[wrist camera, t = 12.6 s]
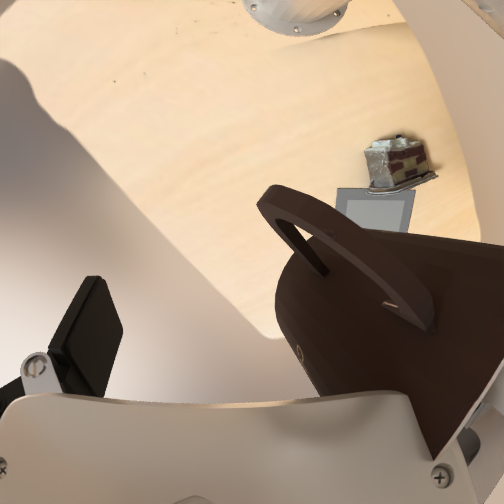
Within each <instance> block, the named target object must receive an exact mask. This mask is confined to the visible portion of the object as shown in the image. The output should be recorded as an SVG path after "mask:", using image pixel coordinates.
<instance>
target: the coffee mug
mask: <svg viewBox="0 0 504 504" xmlns="http://www.w3.org/2000/svg"><path fill="white" fill-rule="evenodd" d="M256 205H257V207H258V209H259V211H260V212H261V214H262V216H263V217H264V218H265V219H266V221H267V222H268V223H269V225H270V226H271V227H272V228H273V229H274V231H275V232H276V233H277V234H278V235H279V236H280V237H281V238H282V239H283V240H284V241H285V242H286V243H287V245H288V246H289V247H290V248H291V249H292V250H293V251H294V254H293V255H292V256H291V258H290V259H289V261H288V262H287V264H286V265H285V267H284V269H283V271H282V274H281V276H280V278H279V281H278V285H277V289H276V294H275V312H276V318H277V322H278V324H279V326H280V329H281V331H282V333H283V334H284V336H285V338H286V339H287V341H288V343H289V344H290V346H291V348H292V349H293V351H294V353H295V355H296V356H297V358H298V360H299V361H300V363H301V365H302V366H303V368H304V370H305V372H306V373H307V375H308V377H309V378H310V380H311V382H312V384H313V385H314V387H315V388H316V390H317V392H318V394H319V395H320V397H324V396H333V395H340V394H348V393H356V392H365V391H377V390H393V391H399V392H401V393H404V394H405V395H407V396H408V397H409V400H410V403H411V405H412V408H413V411H414V413H415V416H416V419H417V422H418V425H419V428H420V430H421V432H422V435H423V437H424V439H425V442H426V444H427V447H428V449H429V451H430V454H431V456H432V459H433V461H435V460H436V459H438V458H439V457H440V456H442V455H443V454H444V453H445V452H446V450H447V449H448V448H449V446H450V445H451V443H452V442H453V441H454V439H455V438H456V437H457V435H458V434H459V433H460V431H461V430H462V428H463V427H464V426H465V424H466V423H467V421H468V420H469V418H470V417H471V415H472V414H473V412H474V411H475V409H476V408H477V406H478V405H479V403H480V402H483V403H484V404H486V402H488V403H489V404H490V405H492V406H493V407H494V408H495V409H496V410H498V411H499V412H500V413H501V414H502V415H504V246H500V245H493V244H487V243H480V242H473V241H466V240H458V239H451V238H443V237H436V236H428V235H420V234H411V233H403V232H394V231H386V230H377V229H367V228H362V227H360V226H359V225H357V224H356V223H355V222H353V221H352V220H350V219H349V218H348V217H346V216H345V215H343V214H342V213H341V212H339V211H337V210H336V209H334V208H333V207H331V206H330V205H328V204H326V203H324V202H322V201H320V200H318V199H316V198H314V197H312V196H310V195H308V194H305V193H302V192H299V191H296V190H294V189H291V188H288V187H285V186H282V185H272V186H270V187H269V188H268V189H267V191H266V192H265V193H264V194H263V196H262V197H261V198H260V200H259V201H258V202H257V204H256ZM294 225H296V226H298V227H299V228H301V229H303V230H305V231H306V232H308V233H310V234H311V235H313V236H312V237H311V238H309V239H308V240H307V241H306V240H305V239H304V238H303V236H302V235H301V234H300V232H299V231H298V230H297V229H296V227H295V226H294Z"/></svg>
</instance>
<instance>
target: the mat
mask: <svg viewBox="0 0 504 504" xmlns="http://www.w3.org/2000/svg"><path fill="white" fill-rule="evenodd" d="M367 191H368V189H358V188H337V198H336V208H335V209H336V210H337V211H339V212H341V213H342V214H343V215H345V216H346V217H348V218H349V219H350V220H352V221H353V222H355V223H356V224H357V225H359V226H360V227H362V228H367V229H377V230H386V231H394V232H403V233H407V230H408V226H409V221H410V216H411V212H412V206H413V201H414V196H415V190H405V191H403V192H400V193H398V194H397V195H393V196H391V197H387V196H385V195H380V196H374V195H369V194H366V192H367Z"/></svg>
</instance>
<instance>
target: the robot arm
mask: <svg viewBox="0 0 504 504" xmlns="http://www.w3.org/2000/svg"><path fill="white" fill-rule="evenodd" d="M350 1H352V0H242V2H243V4H244V6H245V8H246V10H247V11H248V13H249V14H250V15H251V16H252V18H254V19H255V20H256V21H257V22H258V23H259V24H261V25H262V26H264V27H266V28H267V29H269V30H271V31H274V32H276V33H279V34H283V35H287V36H294V37H305V36H312V35H317V34H320V33H322V32H325V31H327V30H328V29H330V28H332V27H333V26H334V25H336V24H337V23H338V22H339V21H340V20H341V18H342V17H343V16H344V14H345V11H346V9H347V5H348V2H350ZM462 1H463V2H464V3H465V4H466V5H467V6H469V7H470V8H471V9H472V10H473V11H474V12H475V13H476V14H477V15H479V16H480V17H481V18H482V19H483V20H484V21H485V22H486V23H487V24H488V25H489V26H490V27H491V28H492V29H493V30H494V31H495V32H497V34H498V35H500V36H501V37H502V38H503V39H504V0H462ZM253 7H255V8H256V10H252V8H253ZM334 13H336V14H337V16H335V15H334ZM294 29H297V30H298V32H295V31H294ZM122 335H123V327H122V324H121V322H120V319H119V317H118V314H117V311H116V309H115V306H114V303H113V301H112V298H111V295H110V292H109V289H108V286H107V283H106V281H105V280H104V279H102V278H101V276H87V277H86V278H85V279H84V281H83V283H82V284H81V286H80V288H79V290H78V291H77V293H76V295H75V297H74V298H73V301H72V302H71V304H70V306H69V308H68V309H67V311H66V313H65V315H64V317H63V319H62V321H61V322H60V325H59V326H58V328H57V330H56V333H55V334H54V336H53V338H52V340H51V342H50V344H49V346H48V349H49V350H48V352H47V354H46V353H43V352H36V353H33V354H31V355H29V356H28V357H27V358H26V359H25V360H24V361H23V363H22V365H21V369H20V373H21V376H20V377H18V378H17V379H15V380H13V381H12V382H10V383H8V384H7V385H5V386H3V387H2V388H0V504H484V502H485V501H486V499H487V498H488V497H489V495H490V494H491V492H492V491H493V489H494V488H495V486H496V485H497V483H498V482H499V480H500V478H501V477H502V475H503V473H504V415H502V414H501V413H500V412H499V411H498V410H496V409H495V408H494V407H493V406H492V405H490V404H489V403H488V402H486V404H484V403H483V402H480V403H479V405H478V406H477V408H476V409H475V411H474V412H473V414H472V415H471V417H470V418H469V420H468V421H467V423H466V424H465V426H464V427H463V428H462V430H461V431H460V433H459V434H458V435H457V437H456V438H455V439H454V441H453V442H452V443H451V445H450V446H449V448H448V449H447V450H446V452H445V453H444V454H443V455H442V456H440V457H439V458H438V459H436V460H435V461H433V459H432V456H431V454H430V451H429V449H428V447H427V444H426V442H425V439H424V437H423V435H422V432H421V430H420V428H419V425H418V422H417V419H416V416H415V413H414V411H413V408H412V405H411V403H410V400H409V397H408V396H407V395H405V394H404V393H401V392H399V391H393V390H377V391H365V392H356V393H348V394H340V395H333V396H324V397H315V398H305V399H295V400H284V401H271V402H253V403H229V404H228V403H223V404H190V403H161V402H160V403H159V402H144V401H130V400H119V399H109V398H103V397H104V395H105V391H106V388H107V384H108V381H109V377H110V374H111V370H112V367H113V364H114V360H115V357H116V354H117V351H118V348H119V345H120V342H121V339H122Z"/></svg>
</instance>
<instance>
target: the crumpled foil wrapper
mask: <svg viewBox="0 0 504 504" xmlns="http://www.w3.org/2000/svg"><path fill="white" fill-rule="evenodd" d="M371 146H372V147H371V148H368V149H366V150H365V151H364V153H365V157H366V159H367V166H368V170H369V175H370V186H369V189H368V191H367V192H366V194H369V195H374V196H380V195H385V196H387V197H391V196H393V195H397V194H398V193H400V192H403V191H405V190H409V189H411V188H413V187H415V186H418V185H420V184H422V183H425V182H427V181H429V180H431V179H435V178H436V177H439V176H438V175H436V174H435V172H434V171H429V167H428V164H427V163H426V153H425V152H424V147H423V145H422V144H421V142H420V141H418V142H416V141H414V142H409V139H408V138H404V139H403V138H402V136H401V135H397V136H396V138H395V140H378V141H374V142H373V143H372V144H371Z"/></svg>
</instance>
